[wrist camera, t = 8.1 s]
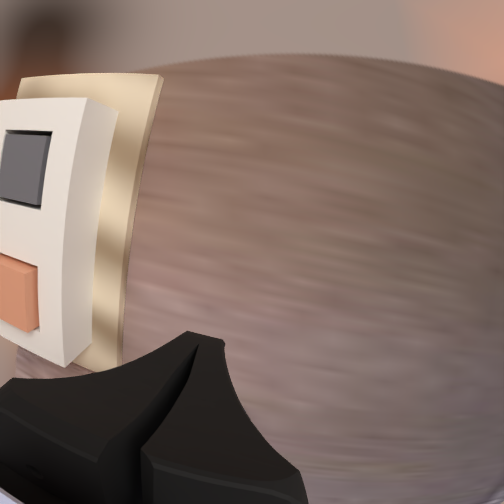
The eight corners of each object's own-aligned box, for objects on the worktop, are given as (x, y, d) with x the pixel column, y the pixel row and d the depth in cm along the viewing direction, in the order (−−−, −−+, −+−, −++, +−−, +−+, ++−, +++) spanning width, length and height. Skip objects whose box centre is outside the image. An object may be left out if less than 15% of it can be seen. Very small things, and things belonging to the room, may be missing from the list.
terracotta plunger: (60, 311, 20) (27, 332, 16) (23, 296, 20) (-10, 313, 16) (60, 259, 19) (24, 273, 15) (22, 246, 19) (-14, 258, 15)
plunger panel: (91, 342, 21) (64, 367, 17) (14, 309, 21) (-16, 326, 18) (118, 111, 18) (87, 97, 14) (30, 109, 18) (-5, 101, 14)
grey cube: (72, 200, 19) (36, 204, 15) (33, 192, 19) (-3, 196, 15) (82, 142, 18) (46, 136, 14) (42, 138, 18) (5, 134, 14)
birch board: (121, 373, 23) (116, 379, 22) (8, 324, 23) (1, 328, 22) (163, 79, 18) (159, 74, 17) (29, 80, 18) (21, 78, 18)
